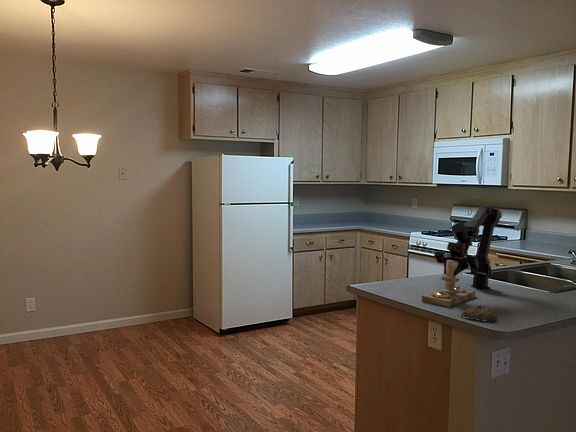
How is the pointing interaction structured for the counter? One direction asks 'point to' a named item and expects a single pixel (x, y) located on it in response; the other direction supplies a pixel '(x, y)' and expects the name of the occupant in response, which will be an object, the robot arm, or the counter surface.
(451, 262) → the idler gear
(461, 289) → the gear
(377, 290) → the counter surface
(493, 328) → the counter surface
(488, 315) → the bread roll
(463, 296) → the gear board
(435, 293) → the gear
